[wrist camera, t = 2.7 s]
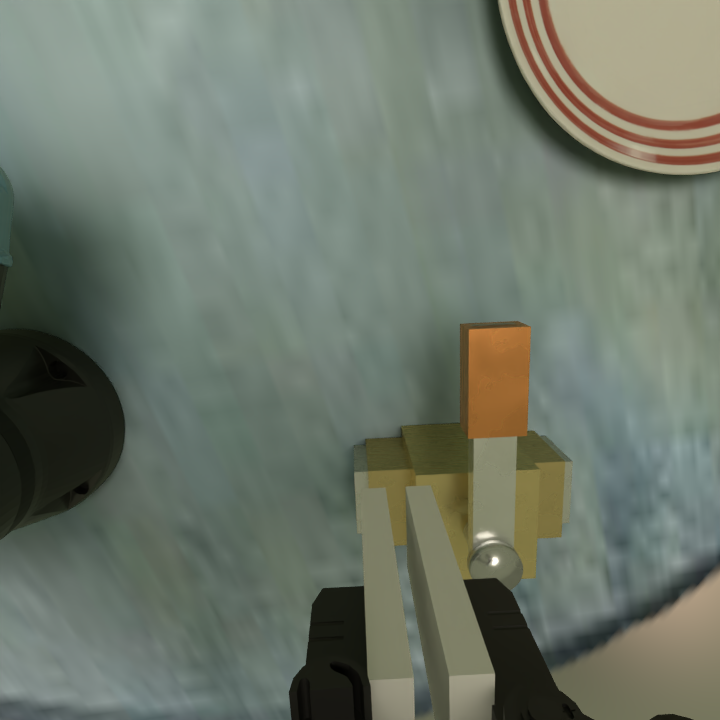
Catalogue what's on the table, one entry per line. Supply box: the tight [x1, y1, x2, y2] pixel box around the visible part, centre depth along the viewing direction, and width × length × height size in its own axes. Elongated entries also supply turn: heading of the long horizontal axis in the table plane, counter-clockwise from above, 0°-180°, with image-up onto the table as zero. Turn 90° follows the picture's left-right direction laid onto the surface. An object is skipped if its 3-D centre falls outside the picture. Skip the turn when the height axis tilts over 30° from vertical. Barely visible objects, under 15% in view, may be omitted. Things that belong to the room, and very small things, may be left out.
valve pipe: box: [354, 423, 573, 580], centre depth 36 cm, size 16×8×9 cm, turn 93°
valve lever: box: [460, 321, 531, 590], centre depth 28 cm, size 3×16×4 cm, turn 3°
